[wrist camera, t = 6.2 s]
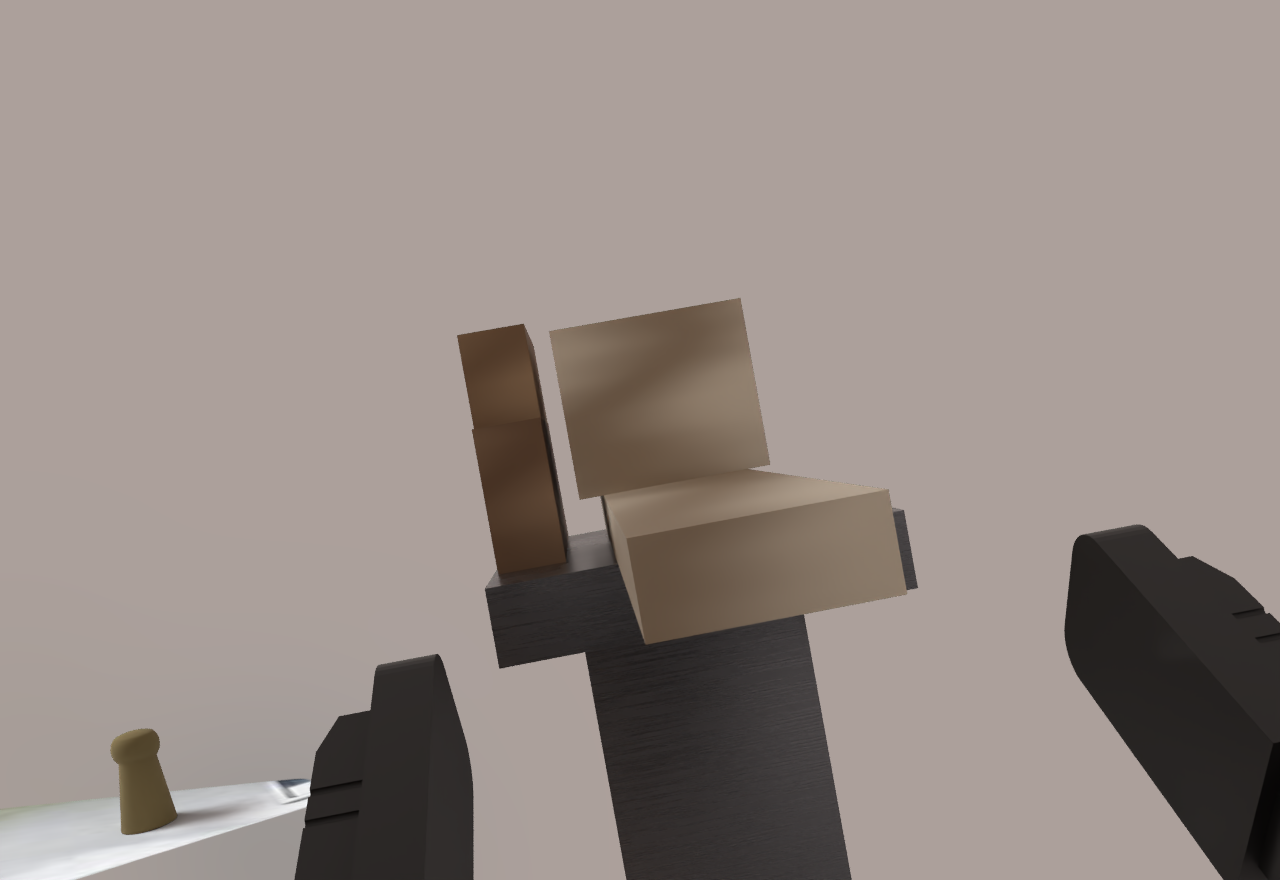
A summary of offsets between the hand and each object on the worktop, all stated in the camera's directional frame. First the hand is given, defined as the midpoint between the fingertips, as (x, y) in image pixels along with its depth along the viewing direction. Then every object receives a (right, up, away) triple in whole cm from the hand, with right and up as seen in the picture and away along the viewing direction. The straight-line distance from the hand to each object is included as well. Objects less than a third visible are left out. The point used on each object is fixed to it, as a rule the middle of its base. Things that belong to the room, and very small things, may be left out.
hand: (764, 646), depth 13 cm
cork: (-59, -43, +111) cm, 133 cm away
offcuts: (-4, 0, +11) cm, 12 cm away
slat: (0, +1, +7) cm, 7 cm away
